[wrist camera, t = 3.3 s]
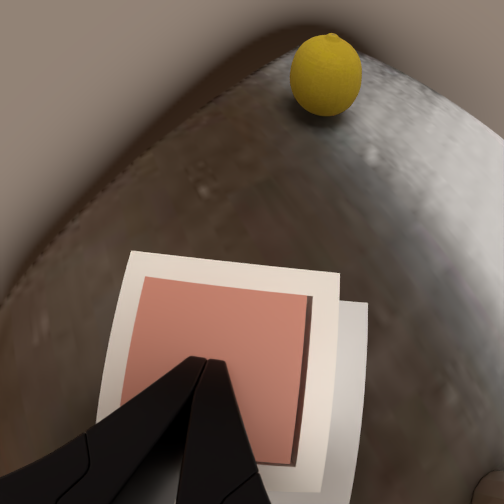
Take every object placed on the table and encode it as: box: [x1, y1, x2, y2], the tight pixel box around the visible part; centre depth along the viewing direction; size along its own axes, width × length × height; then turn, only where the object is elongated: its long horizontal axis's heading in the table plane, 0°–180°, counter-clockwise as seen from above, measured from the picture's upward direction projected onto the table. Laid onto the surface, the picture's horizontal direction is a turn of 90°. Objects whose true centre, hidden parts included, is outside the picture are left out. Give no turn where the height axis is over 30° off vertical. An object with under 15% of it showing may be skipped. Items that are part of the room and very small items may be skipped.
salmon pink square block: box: [120, 276, 307, 464], centre depth 9 cm, size 4×4×3 cm
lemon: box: [290, 33, 362, 116], centre depth 21 cm, size 6×6×8 cm
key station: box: [96, 251, 368, 504], centre depth 11 cm, size 18×14×9 cm
